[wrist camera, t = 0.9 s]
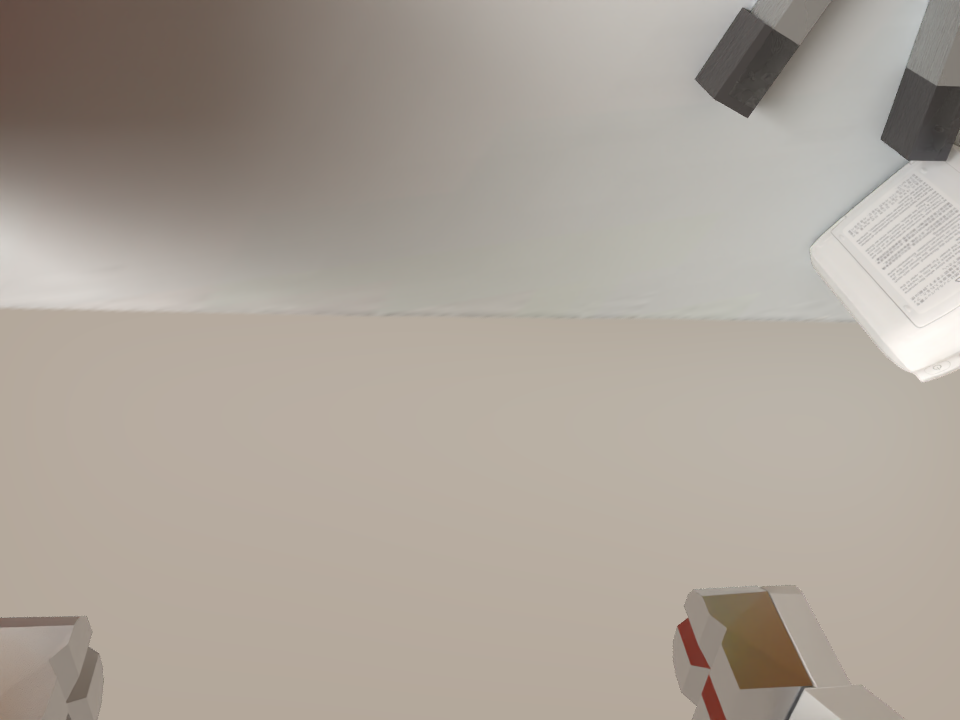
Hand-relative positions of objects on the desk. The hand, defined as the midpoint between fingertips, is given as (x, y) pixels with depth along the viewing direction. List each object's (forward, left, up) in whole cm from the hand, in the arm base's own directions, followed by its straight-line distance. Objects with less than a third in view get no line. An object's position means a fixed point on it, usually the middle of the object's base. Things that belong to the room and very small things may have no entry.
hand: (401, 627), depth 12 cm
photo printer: (+11, +30, -36) cm, 48 cm away
